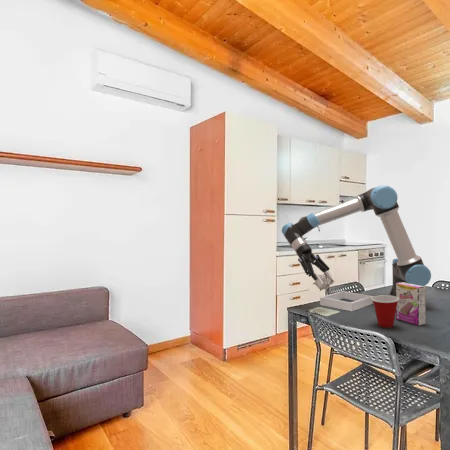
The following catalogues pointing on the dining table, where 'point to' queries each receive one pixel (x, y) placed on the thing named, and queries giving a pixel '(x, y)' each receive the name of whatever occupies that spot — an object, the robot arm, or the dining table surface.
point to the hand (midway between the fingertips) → (327, 283)
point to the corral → (335, 302)
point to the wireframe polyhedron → (324, 282)
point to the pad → (324, 311)
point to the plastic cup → (385, 309)
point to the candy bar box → (411, 303)
